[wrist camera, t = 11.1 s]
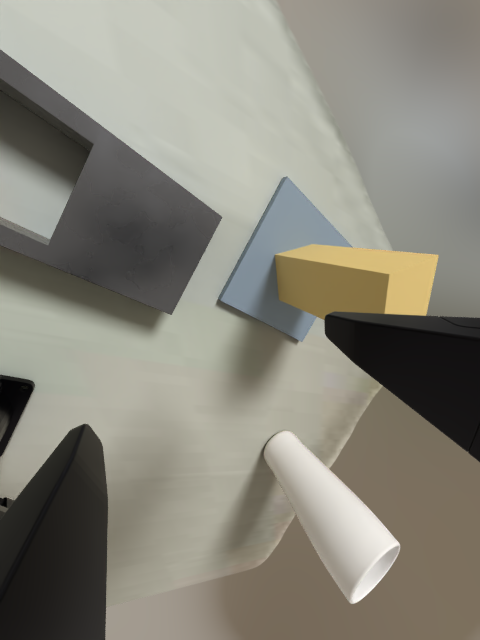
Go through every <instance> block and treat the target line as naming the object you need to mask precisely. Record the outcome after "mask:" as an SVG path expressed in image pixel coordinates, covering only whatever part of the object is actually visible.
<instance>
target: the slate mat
mask: <svg viewBox="0 0 480 640" xmlns="http://www.w3.org/2000/svg"><path fill="white" fill-rule="evenodd" d="M311 244H317V245H329V246H340V247H352V246H351V245H350V244H349V243H348V242H347V240H346V239H345V238H344V237H343V236H342V235H341V234H340V233H339V232H338V231H337V230H336V229H335V228H334V226H333V225H332V224H331V223H330V222H329V221H328V220H327V219H326V218H325V217H324V216H323V215H322V214H321V212H320V211H319V210H318V209H317V208H316V207H315V206H314V205H313V204H312V203H311V202H310V201H309V199H308V198H307V197H306V196H305V195H304V194H303V193H302V192H301V191H300V190H299V189H298V188H297V187H296V185H295V184H294V183H293V182H292V181H291V180H290V179H289V178H288V177H284V178H283V179H282V180H281V182H280V184H279V186H278V188H277V190H276V192H275V194H274V195H273V197H272V199H271V201H270V203H269V205H268V207H267V208H266V210H265V212H264V214H263V216H262V218H261V220H260V222H259V223H258V225H257V227H256V229H255V231H254V233H253V235H252V236H251V238H250V240H249V242H248V244H247V246H246V248H245V250H244V251H243V253H242V255H241V257H240V259H239V261H238V263H237V264H236V266H235V268H234V270H233V272H232V274H231V276H230V278H229V279H228V281H227V283H226V285H225V287H224V289H223V291H222V292H221V294H220V296H219V298H218V299H219V300H221V301H222V302H224V303H226V304H228V305H230V306H232V307H234V308H236V309H238V310H240V311H242V312H244V313H246V314H248V315H250V316H252V317H254V318H256V319H258V320H260V321H262V322H264V323H266V324H268V325H270V326H272V327H274V328H276V329H278V330H280V331H282V332H284V333H286V334H288V335H289V336H291V337H293V338H295V339H297V340H299V341H301V342H302V341H303V340H304V338H305V336H306V335H307V333H308V331H309V329H310V328H311V326H312V324H313V322H314V321H315V319H316V317H317V316H314V315H312V314H310V313H308V312H305V311H303V310H301V309H298V308H296V307H294V306H292V305H289V304H287V303H285V302H283V301H280V300H279V295H278V284H277V272H276V261H275V254H279V253H282V252H286V251H290V250H293V249H297V248H301V247H304V246H308V245H311ZM352 248H353V247H352Z"/></svg>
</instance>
